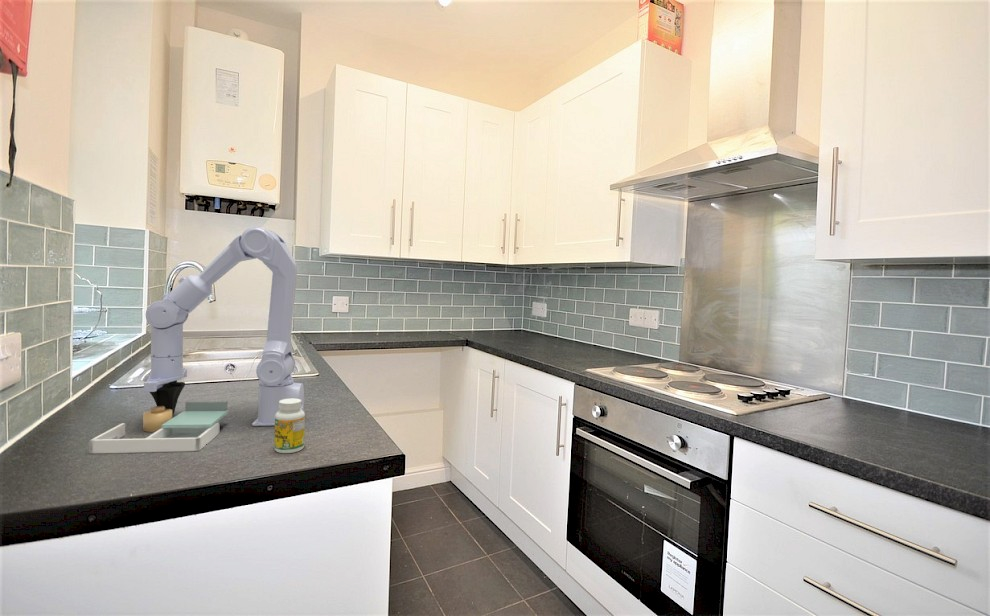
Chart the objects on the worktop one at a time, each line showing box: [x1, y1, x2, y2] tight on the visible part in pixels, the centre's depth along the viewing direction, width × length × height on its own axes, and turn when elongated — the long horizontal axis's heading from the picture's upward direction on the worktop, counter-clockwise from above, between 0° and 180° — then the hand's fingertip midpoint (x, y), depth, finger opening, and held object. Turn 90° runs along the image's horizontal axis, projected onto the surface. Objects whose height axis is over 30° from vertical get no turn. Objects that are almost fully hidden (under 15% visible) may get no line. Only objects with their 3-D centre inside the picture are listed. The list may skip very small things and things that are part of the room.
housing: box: [88, 421, 221, 454], centre depth 90 cm, size 18×10×2 cm, turn 102°
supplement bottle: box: [274, 398, 306, 454], centre depth 90 cm, size 5×5×10 cm
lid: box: [162, 400, 230, 428], centre depth 97 cm, size 9×10×3 cm
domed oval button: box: [142, 405, 173, 433], centre depth 98 cm, size 5×5×4 cm
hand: (166, 416), depth 102 cm, fingers closed
